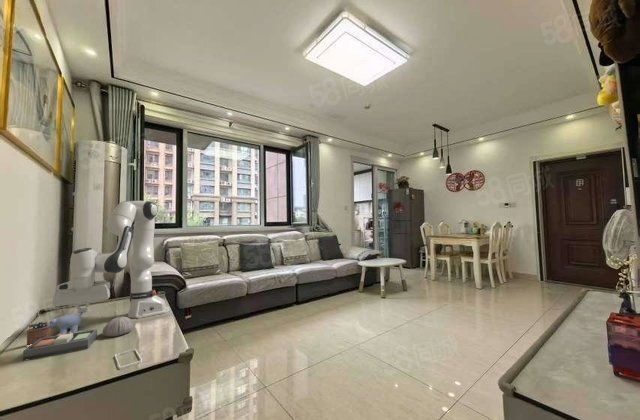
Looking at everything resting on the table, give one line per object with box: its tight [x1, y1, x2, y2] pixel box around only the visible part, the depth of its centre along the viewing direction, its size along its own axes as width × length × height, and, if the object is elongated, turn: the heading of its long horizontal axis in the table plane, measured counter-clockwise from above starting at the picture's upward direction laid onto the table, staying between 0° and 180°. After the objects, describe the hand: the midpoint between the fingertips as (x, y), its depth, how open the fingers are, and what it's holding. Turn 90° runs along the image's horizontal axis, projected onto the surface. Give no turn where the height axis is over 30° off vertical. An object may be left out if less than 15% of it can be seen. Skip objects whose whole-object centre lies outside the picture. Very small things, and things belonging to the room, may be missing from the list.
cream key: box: [54, 333, 73, 345], centre depth 121 cm, size 4×7×2 cm, turn 27°
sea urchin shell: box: [102, 316, 136, 338], centre depth 137 cm, size 13×14×8 cm
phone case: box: [114, 348, 143, 370], centre depth 108 cm, size 7×1×15 cm
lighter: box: [26, 321, 52, 345], centre depth 127 cm, size 8×3×10 cm, turn 141°
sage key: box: [73, 332, 91, 341], centre depth 124 cm, size 4×7×2 cm, turn 27°
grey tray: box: [22, 328, 98, 361], centre depth 121 cm, size 21×14×4 cm, turn 117°
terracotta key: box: [33, 338, 55, 348], centre depth 118 cm, size 4×7×2 cm, turn 27°
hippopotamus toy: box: [47, 312, 84, 335], centre depth 141 cm, size 11×15×10 cm
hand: (82, 312), depth 125 cm, fingers closed
